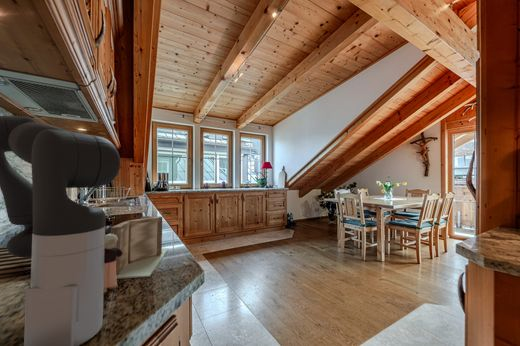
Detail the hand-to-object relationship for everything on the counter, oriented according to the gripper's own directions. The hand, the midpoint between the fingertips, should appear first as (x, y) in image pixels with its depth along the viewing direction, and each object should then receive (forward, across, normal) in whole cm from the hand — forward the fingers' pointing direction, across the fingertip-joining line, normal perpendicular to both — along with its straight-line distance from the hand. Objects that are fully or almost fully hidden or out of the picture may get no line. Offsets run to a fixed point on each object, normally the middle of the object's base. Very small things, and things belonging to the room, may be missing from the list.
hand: (152, 236), depth 74 cm
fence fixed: (-5, -11, +6) cm, 14 cm away
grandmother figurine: (-4, -21, +7) cm, 22 cm away
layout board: (-2, -4, +6) cm, 8 cm away
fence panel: (-2, -3, +6) cm, 7 cm away
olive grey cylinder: (-5, +13, +7) cm, 16 cm away
